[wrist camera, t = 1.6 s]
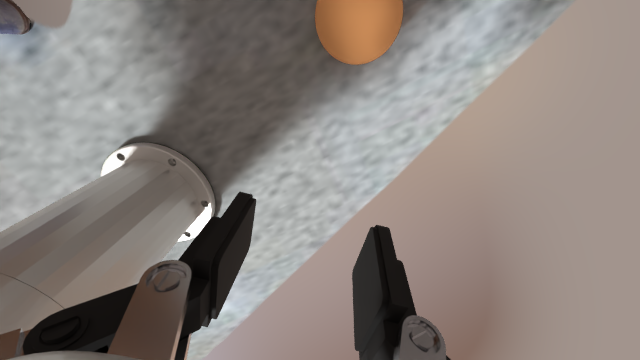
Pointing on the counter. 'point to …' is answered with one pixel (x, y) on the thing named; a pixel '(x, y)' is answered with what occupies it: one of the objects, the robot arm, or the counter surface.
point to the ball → (358, 28)
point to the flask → (12, 18)
